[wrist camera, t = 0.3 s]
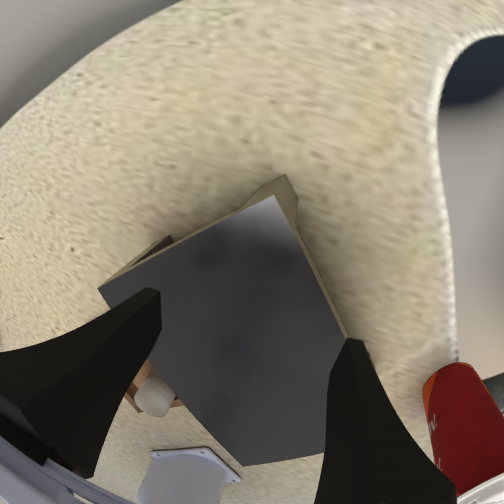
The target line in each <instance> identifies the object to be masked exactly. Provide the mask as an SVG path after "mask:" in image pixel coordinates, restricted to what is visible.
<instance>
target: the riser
mask: <svg viewBox="0 0 504 504" xmlns="http://www.w3.org/2000/svg"><path fill="white" fill-rule="evenodd" d="M297 206H298V197H297V196H296V194H295V192H294V190H293V188H292V186H291V184H290V182H289V180H288V178H287V176H286V174H285V175H283V176H281V177H279V178H277V179H275V180H273V181H271V182H269V183H267V184H265V185H263V186H261V187H260V188H259V189H258V190H257V191H256V192H255V193H254V194H253V195H252V196H251V198H250V199H249V200H248V201H247V202H246V203H245V204H244V205H243V207H242V208H240V209H238V210H236V211H234V212H232V213H230V214H228V215H226V216H224V217H222V218H220V219H218V220H216V221H214V222H212V223H211V224H209V225H207V226H205V227H203V228H201V229H199V230H197V231H195V232H193V233H192V234H190V235H188V236H186V237H184V238H182V239H180V240H178V241H177V242H175V243H174V242H173V240H172V239H171V237H170V235H169V236H167V237H165V238H163V239H161V240H160V241H158V242H156V243H154V244H153V245H151V246H150V247H148V248H147V249H146V250H144V251H143V252H142V253H141V254H139V255H138V256H137V257H136V258H134V259H133V260H132V261H130V262H129V263H128V264H127V265H125V266H124V267H123V268H122V269H120V270H119V271H118V272H117V273H115V274H114V275H113V276H112V277H110V278H109V279H108V280H107V281H106V282H104V283H103V284H102V285H101V286H100V287H98V288H97V289H98V290H99V292H100V294H101V295H102V297H103V298H104V300H105V301H106V303H107V304H108V306H109V307H110V309H112V308H114V307H116V306H117V305H119V304H120V303H122V302H123V301H125V300H127V299H128V298H130V297H131V296H133V295H134V294H136V293H137V292H139V291H141V290H142V289H144V288H146V287H149V288H152V289H156V290H159V291H161V318H162V330H161V332H160V334H159V337H158V339H157V341H156V343H155V345H154V347H153V349H152V351H151V353H150V354H149V356H148V358H147V360H148V361H149V363H150V364H151V365H152V367H153V368H154V369H155V370H156V372H157V373H158V374H159V375H160V377H161V378H162V379H163V380H164V382H165V383H166V384H167V385H168V386H169V388H170V389H171V390H172V391H173V392H174V394H175V395H176V396H177V397H178V398H179V399H180V401H181V402H182V403H183V404H184V405H185V406H186V408H187V409H188V410H189V411H190V412H191V413H192V414H193V415H194V417H195V418H196V419H197V420H198V421H199V422H200V423H201V424H202V425H203V426H204V428H205V429H206V430H207V431H208V432H209V433H210V434H211V435H212V436H213V437H214V438H215V439H216V440H217V441H218V442H219V443H220V444H221V445H222V446H223V447H224V448H225V449H226V450H227V451H228V452H229V453H230V454H231V455H232V456H233V457H234V458H235V459H236V460H237V461H238V462H239V463H240V464H241V465H242V466H250V465H258V464H265V463H272V462H278V461H284V460H290V459H296V458H301V457H306V456H311V455H315V454H320V453H324V452H325V438H326V407H327V390H328V383H329V376H330V371H331V369H332V367H333V365H334V363H335V361H336V359H337V357H338V355H339V353H340V351H341V349H342V347H343V345H344V343H345V341H346V339H347V338H349V337H348V334H347V332H346V330H345V328H344V326H343V323H342V321H341V319H340V317H339V315H338V313H337V310H336V308H335V306H334V304H333V302H332V300H331V298H330V296H329V293H328V291H327V289H326V287H325V285H324V283H323V281H322V279H321V277H320V275H319V273H318V271H317V269H316V267H315V264H314V262H313V260H312V258H311V256H310V254H309V252H308V250H307V248H306V246H305V244H304V242H303V240H302V238H301V236H300V234H299V232H298V230H297V228H296V226H295V220H296V213H297ZM368 355H369V357H370V359H371V356H370V354H369V353H368ZM371 362H372V364H373V361H372V359H371ZM373 366H374V364H373ZM374 369H375V366H374ZM375 371H376V370H375Z"/></svg>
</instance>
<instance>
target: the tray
mask: <svg viewBox="0 0 504 504" xmlns="http://www.w3.org/2000/svg"><path fill="white" fill-rule="evenodd" d="M124 397H125V398H126V399H127V400H128V402H129V403H130V404H131V405H132V406H133V407H134V408H135V409H136V410H137V412H138V413H140V412H145V413H147V414H149V415H151V416H155V417H163V416H165V415H166V414H167V412H168V410H169V408H171V407H177V406H182V405H184V404H183V403H182V402H181V401H180V399H179V398H178V397H177V396H176V395H175V394H174V392H173V391H172V390H171V389H170V388H169V386H168V385H167V384H166V383H165V382H164V380H163V379H162V378H161V377H160V375H159V374H158V373H157V372H156V370H155V369H154V368H153V367H152V365H151V364H150V363H149V361H148V360H147V359H146V361H145V362H144V364H143V366H142V367H141V369H140V370H139V372H138V374H137V375H136V377H135V378H134V380H133V382H132V383H131V385H130V386H129V388H128V390H127V391H126V393H125V395H124Z"/></svg>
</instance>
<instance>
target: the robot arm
mask: <svg viewBox="0 0 504 504" xmlns="http://www.w3.org/2000/svg"><path fill="white" fill-rule="evenodd" d="M161 330H162V318H161V291H159V290H156V289H152V288H149V287H146V288H144V289H142V290H141V291H139V292H137V293H136V294H134V295H133V296H131V297H130V298H128V299H127V300H125V301H123V302H122V303H120V304H119V305H117V306H116V307H114V308H112V309H111V310H109V311H107V312H106V313H104V314H103V315H101V316H99V317H97V318H95V319H94V320H92V321H90V322H88V323H87V324H85V325H83V326H81V327H79V328H77V329H75V330H72V331H70V332H68V333H66V334H64V335H61V336H59V337H56V338H53V339H50V340H48V341H45V342H42V343H39V344H36V345H32V346H29V347H25V348H21V349H17V350H12V351H6V352H0V497H1V498H2V499H3V500H4V501H5V502H6V503H8V504H86V503H84V502H82V501H80V500H79V499H77V498H76V497H74V494H73V493H75V494H77V495H79V496H80V497H82V498H84V499H86V500H88V501H90V502H92V503H94V504H136V503H134V502H131V501H129V500H127V499H124V498H122V497H120V496H118V495H115V494H113V493H111V492H109V491H107V490H105V489H103V488H101V487H99V486H97V485H95V484H93V483H91V482H89V481H87V480H85V479H88V478H91V477H93V475H94V471H95V468H96V465H97V462H98V458H99V455H100V452H101V449H102V447H103V444H104V441H105V438H106V436H107V433H108V431H109V428H110V426H111V423H112V421H113V419H114V416H115V414H116V412H117V410H118V407H119V405H120V403H121V401H122V399H123V397H124V395H125V393H126V391H127V390H128V388H129V386H130V385H131V383H132V382H133V380H134V378H135V377H136V375H137V374H138V372H139V370H140V369H141V367H142V366H143V364H144V362H145V361H146V359H147V358H148V356H149V354H150V353H151V351H152V349H153V347H154V345H155V343H156V341H157V339H158V337H159V334H160V332H161ZM150 455H151V456H152V457H153V461H152V463H151V465H150V467H149V469H148V471H147V473H146V475H145V477H144V480H143V482H142V484H141V486H140V488H139V491H138V504H219V503H220V500H221V496H222V493H223V489H224V485H225V483H234V482H241V478H240V477H239V476H238V475H237V474H236V473H235V472H233V471H232V470H231V469H230V468H229V467H228V466H227V465H226V464H225V463H224V462H223V461H222V460H221V459H219V458H218V457H217V456H216V455H215V454H214V453H213V452H212V451H211V450H210V449H209V448H195V449H183V450H168V451H151V452H150ZM65 468H66V469H65ZM72 472H73V473H72ZM81 477H82V478H81ZM83 478H84V479H83ZM71 491H72V492H71ZM314 504H457V492H456V485H455V484H454V483H453V482H452V481H451V480H450V479H449V478H448V477H447V476H446V475H445V474H444V473H442V472H441V471H440V470H439V469H438V468H437V467H436V466H435V464H434V463H433V462H432V461H431V460H430V459H429V458H428V457H427V456H426V454H425V453H424V452H423V451H422V449H421V448H420V447H419V446H418V444H417V443H416V442H415V440H414V439H413V438H412V436H411V435H410V434H409V432H408V431H407V429H406V428H405V426H404V424H403V423H402V421H401V420H400V418H399V417H398V415H397V413H396V411H395V410H394V408H393V406H392V404H391V402H390V400H389V398H388V396H387V394H386V392H385V390H384V388H383V386H382V384H381V382H380V380H379V378H378V375H377V373H376V371H375V369H374V366H373V364H372V362H371V359H370V357H369V355H368V352H367V350H366V347H365V345H364V343H363V341H362V340H357V339H352V338H347V339H346V341H345V343H344V345H343V347H342V349H341V351H340V353H339V355H338V357H337V359H336V361H335V363H334V365H333V367H332V369H331V371H330V376H329V383H328V390H327V407H326V438H325V452H324V459H323V464H322V470H321V475H320V480H319V485H318V489H317V494H316V498H315V502H314Z"/></svg>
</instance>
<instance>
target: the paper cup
mask: <svg viewBox="0 0 504 504" xmlns="http://www.w3.org/2000/svg"><path fill="white" fill-rule="evenodd" d="M423 401H424V407H425V412H426V417H427V422H428V427H429V433H430V438H431V444H432V449H433V455H434V461H435V466H436V467H437V468H438V469H439V470H440V471H441V472H442V473H444V474H445V475H446V476H447V477H448V478H449V479H450V480H451V481H452V482H453V483H454V484H455V485H456V492H457V504H504V417H503V415H502V413H501V411H500V410H499V408H498V406H497V404H496V403H495V401H494V399H493V398H492V396H491V394H490V393H489V391H488V389H487V388H486V386H485V385H484V383H483V381H482V380H481V378H480V377H479V375H478V374H477V372H476V371H475V370H474V368H473V367H472V366H471V365H469V364H467V363H462V362H459V363H453V364H450V365H448V366H445V367H443V368H442V369H440V370H438V371H437V372H436V373H435V374H433V375H432V376H431V377H430V379H429V380H428V381H427V382H426V384H425V386H424V389H423Z"/></svg>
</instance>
